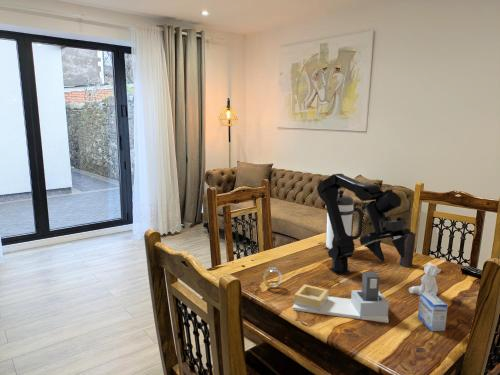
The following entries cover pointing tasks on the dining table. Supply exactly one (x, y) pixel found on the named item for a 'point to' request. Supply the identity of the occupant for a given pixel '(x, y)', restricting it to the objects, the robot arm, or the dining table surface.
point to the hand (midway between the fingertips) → (393, 259)
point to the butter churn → (408, 246)
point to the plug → (370, 286)
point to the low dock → (311, 297)
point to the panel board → (340, 310)
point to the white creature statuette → (427, 281)
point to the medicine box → (432, 311)
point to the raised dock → (369, 305)
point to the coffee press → (344, 218)
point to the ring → (270, 272)
